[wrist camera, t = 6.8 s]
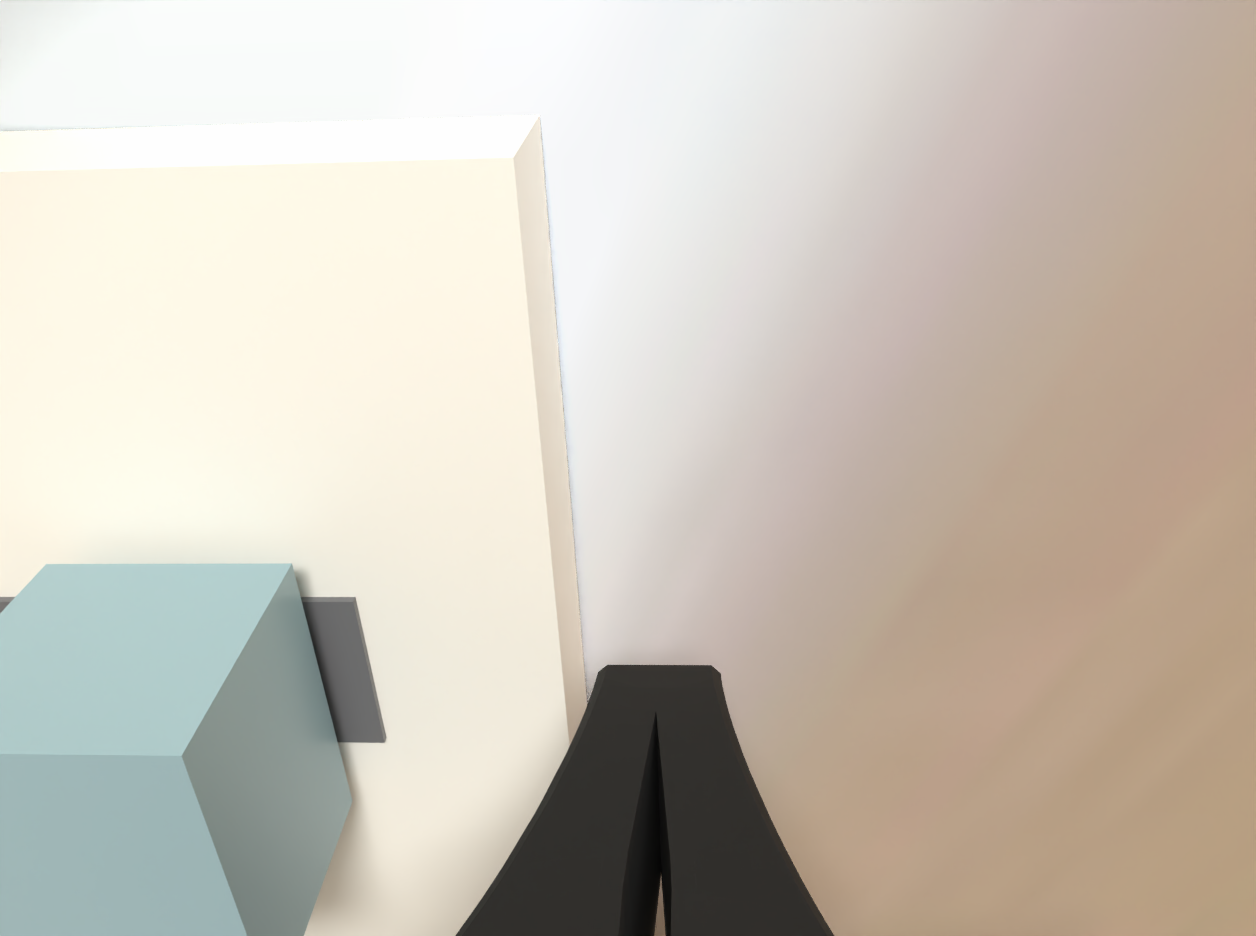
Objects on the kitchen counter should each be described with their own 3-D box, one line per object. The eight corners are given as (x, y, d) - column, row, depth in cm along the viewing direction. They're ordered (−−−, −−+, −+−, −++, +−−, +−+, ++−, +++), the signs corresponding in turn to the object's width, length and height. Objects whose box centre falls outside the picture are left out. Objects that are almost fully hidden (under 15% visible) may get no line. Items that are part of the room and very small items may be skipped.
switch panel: (618, 1089, 22) (611, 1200, 20) (-11, 1069, 22) (-72, 1173, 21) (539, 115, 11) (511, 160, 10) (-598, 149, 12) (-818, 197, 11)
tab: (352, 801, 14) (276, 1013, 11) (141, 797, 14) (17, 1006, 11) (292, 562, 12) (181, 754, 9) (46, 564, 12) (-129, 753, 9)
